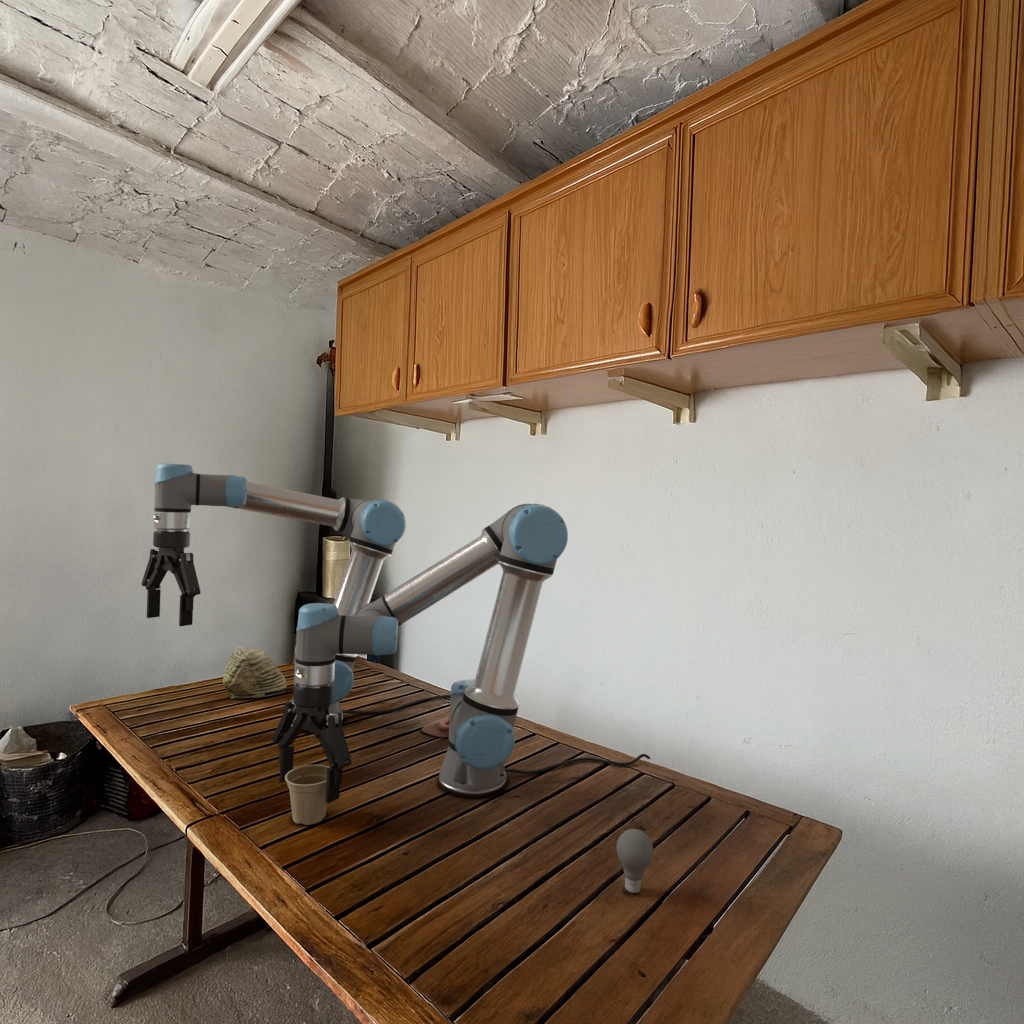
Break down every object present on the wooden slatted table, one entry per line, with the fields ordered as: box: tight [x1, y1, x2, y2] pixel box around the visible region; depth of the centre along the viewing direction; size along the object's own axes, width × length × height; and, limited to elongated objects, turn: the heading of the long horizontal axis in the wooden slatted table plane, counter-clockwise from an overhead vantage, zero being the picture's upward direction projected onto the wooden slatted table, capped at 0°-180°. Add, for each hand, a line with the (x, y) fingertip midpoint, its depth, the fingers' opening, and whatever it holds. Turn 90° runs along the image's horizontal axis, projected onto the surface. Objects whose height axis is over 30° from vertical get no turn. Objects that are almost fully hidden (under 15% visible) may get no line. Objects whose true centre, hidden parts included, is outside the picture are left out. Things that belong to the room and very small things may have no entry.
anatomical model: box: [420, 716, 450, 738], centre depth 175 cm, size 13×4×12 cm
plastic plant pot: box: [285, 764, 330, 826], centre depth 125 cm, size 9×9×9 cm
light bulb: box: [615, 828, 654, 894], centre depth 106 cm, size 6×6×10 cm
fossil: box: [222, 646, 288, 699], centre depth 198 cm, size 9×18×15 cm, turn 132°
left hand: (169, 621), depth 147 cm, fingers open, 13 cm apart
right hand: (308, 790), depth 125 cm, fingers open, 13 cm apart
